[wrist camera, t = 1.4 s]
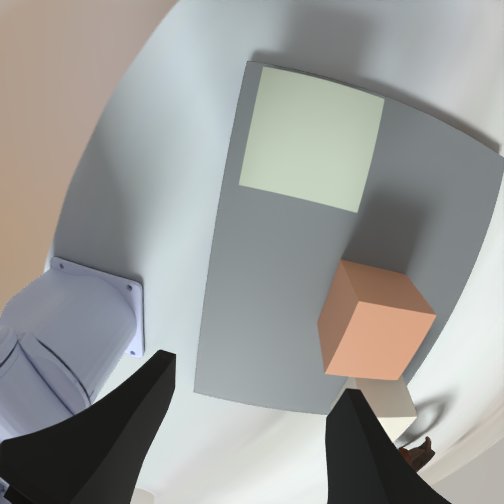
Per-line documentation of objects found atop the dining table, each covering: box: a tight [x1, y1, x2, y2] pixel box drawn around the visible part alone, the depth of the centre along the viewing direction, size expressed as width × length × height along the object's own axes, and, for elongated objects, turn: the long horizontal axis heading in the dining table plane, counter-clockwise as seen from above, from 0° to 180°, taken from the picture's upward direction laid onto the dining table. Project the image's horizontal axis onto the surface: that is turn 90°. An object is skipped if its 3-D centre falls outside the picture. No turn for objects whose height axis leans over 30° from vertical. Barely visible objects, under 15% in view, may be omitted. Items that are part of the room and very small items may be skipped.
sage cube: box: [239, 67, 385, 213], centre depth 13 cm, size 5×5×5 cm
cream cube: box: [331, 374, 418, 442], centre depth 19 cm, size 5×5×5 cm
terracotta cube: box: [317, 259, 437, 380], centre depth 16 cm, size 5×5×5 cm
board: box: [194, 61, 504, 415], centre depth 19 cm, size 19×26×1 cm
